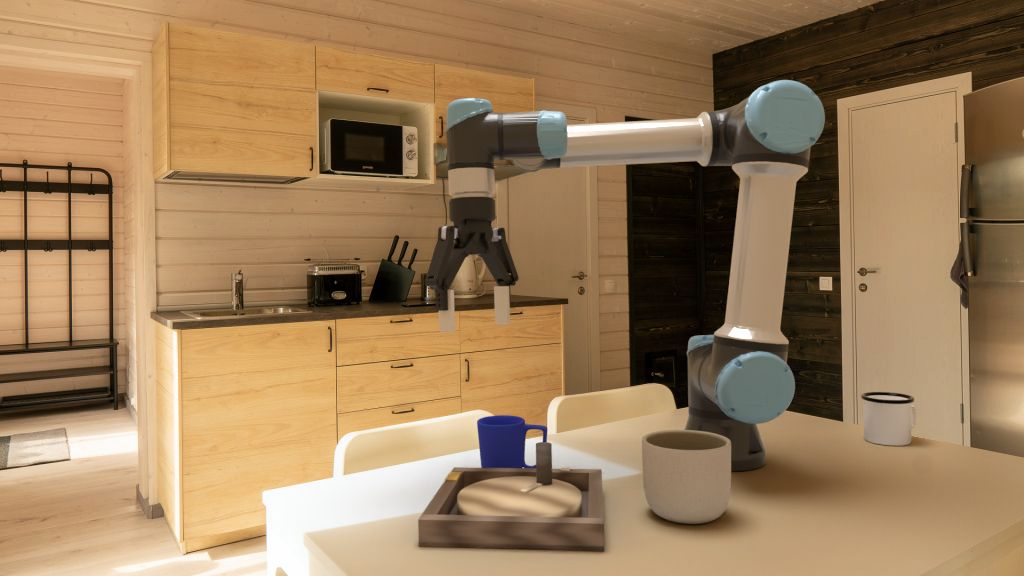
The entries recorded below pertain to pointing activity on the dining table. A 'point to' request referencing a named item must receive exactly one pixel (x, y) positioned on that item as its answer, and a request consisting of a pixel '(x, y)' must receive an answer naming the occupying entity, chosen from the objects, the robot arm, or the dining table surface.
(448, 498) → the brown wooden tray
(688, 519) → the planter
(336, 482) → the dining table surface
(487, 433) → the mug
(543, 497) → the dial
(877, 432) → the mug
